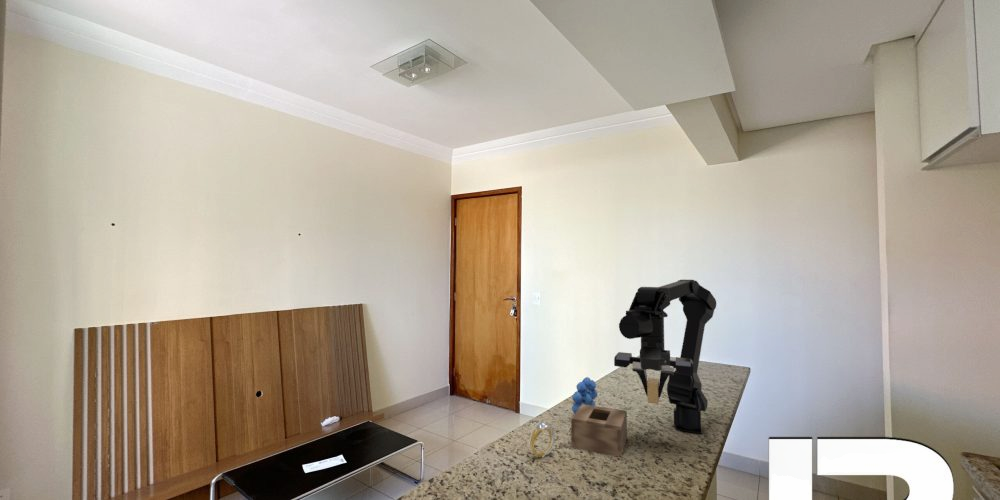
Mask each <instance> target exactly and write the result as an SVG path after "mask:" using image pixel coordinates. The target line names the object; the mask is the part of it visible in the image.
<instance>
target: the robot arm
mask: <svg viewBox="0 0 1000 500" xmlns="http://www.w3.org/2000/svg"><path fill="white" fill-rule="evenodd" d="M677 299H678V302H680V303H681V305H682V311H683V315H684V317H685V319H686V322H685V323H686V324H685V328H684V334H683V335H684V336H683V341H682V347H681V351H680V356H679V357H677V356H676V357H675V360H674V359H673V360H671V350H670V349H668V350H667V349H665V318H668V316H669V314H668V313H667V312H665V309H667V307H669V306H670V305H671V302H672V301H674V300H677ZM715 309H717V300H716V298H715V297H714V295H713V294H712V292H711V291H710V290H708V289H707V288H705V287H704V286H702V285H701V284H700V283H699V282H698V281H697V280H695V279H679V280H677V281H674V282H671V283H668V284H664V285H661V286H640V287H639V288H638V289H637V291H636V292H635V294H634V297H633V299H632V302H631V305H630V307H629V308H628V310H626V311H625V315H624V316H622V317H621V319H620V321H619V323H618V328H619V332H620V334H621V335H622V336H623V338H625V339H628V340H633V339H639V338H640V349H639V357H638V356H633V354H632V353H631V352H623V351H619V352H617V353H616V354H615V355H614V359H613V362H614V367H618V368H619V367H620V368H628V367H629V366H630V365H632V368H631V369H632V372H636V373H637V375H638V377H639V378H640V381H641V383H642V386H643V389H644V393H645V395H646V396H647V382H648V373H647V370H652V371H656V372H660V375H659V390H658V396H659V399H660V398H661V396H662V392H663V389H664V386H665V384H666V393H667V397H668V402H669V404H672V405H675V407H674V408H673V425H674V426H675V430H676V431H680V432H687V433H692V434H699V435H700V434H701V435H702V434H703V430H702V414H701V413H702V412H706V411H707V409H708V402H709V401H708V399H707V397H706V396H705V393H703V390H702V385H703V384H702V382H701V380H700V377H699V374H698V371H699V363H700V357H701V351H702V345H703V340H704V339H703V338H704V333H705V326H706V324H707V323H708V322H709V321H710V320H711V319H713V316H714V313H715ZM667 379H668V382H667V383H666V381H667Z"/></svg>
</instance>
